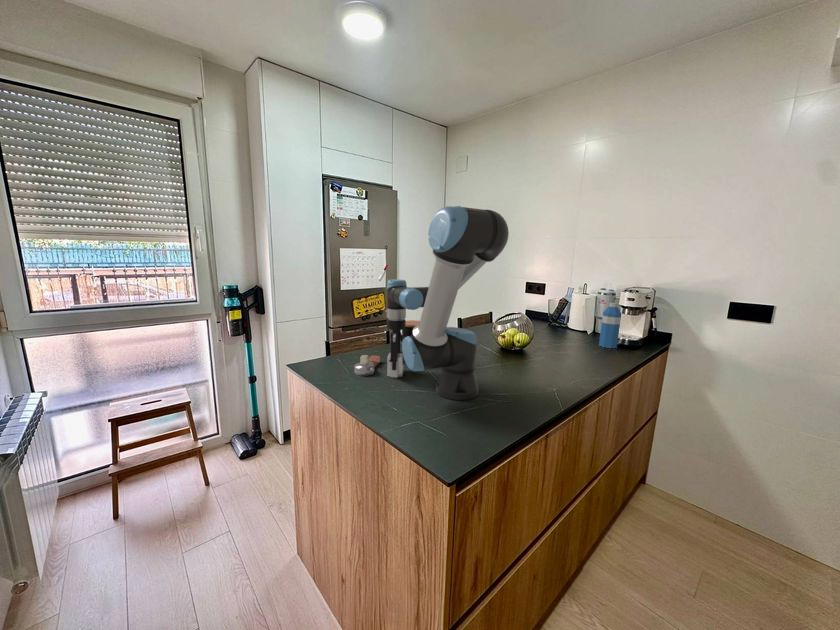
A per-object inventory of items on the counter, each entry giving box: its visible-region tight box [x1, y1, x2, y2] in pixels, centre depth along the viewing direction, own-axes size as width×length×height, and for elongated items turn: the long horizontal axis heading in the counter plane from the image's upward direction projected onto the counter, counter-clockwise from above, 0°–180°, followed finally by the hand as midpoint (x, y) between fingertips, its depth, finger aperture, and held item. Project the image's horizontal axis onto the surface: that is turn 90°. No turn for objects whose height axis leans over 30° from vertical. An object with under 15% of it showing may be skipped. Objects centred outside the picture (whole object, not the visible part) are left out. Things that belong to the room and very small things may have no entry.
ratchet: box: [354, 354, 381, 377], centre depth 140 cm, size 18×8×7 cm, turn 168°
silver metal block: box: [386, 352, 405, 378], centre depth 135 cm, size 6×6×8 cm
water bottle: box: [598, 302, 622, 349], centre depth 182 cm, size 9×9×25 cm
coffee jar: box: [401, 320, 420, 364], centre depth 150 cm, size 11×11×18 cm
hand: (395, 373), depth 135 cm, fingers open, 8 cm apart
